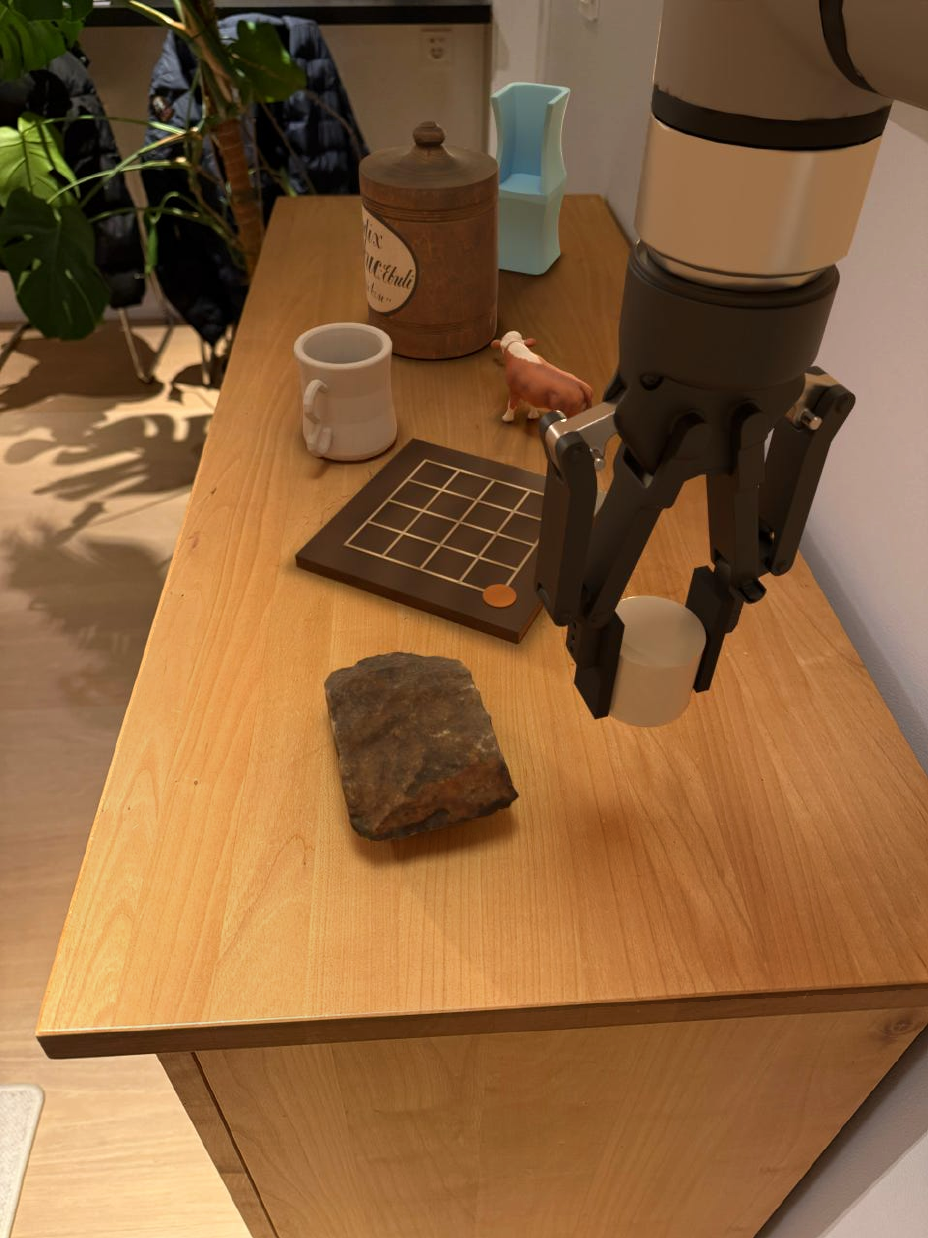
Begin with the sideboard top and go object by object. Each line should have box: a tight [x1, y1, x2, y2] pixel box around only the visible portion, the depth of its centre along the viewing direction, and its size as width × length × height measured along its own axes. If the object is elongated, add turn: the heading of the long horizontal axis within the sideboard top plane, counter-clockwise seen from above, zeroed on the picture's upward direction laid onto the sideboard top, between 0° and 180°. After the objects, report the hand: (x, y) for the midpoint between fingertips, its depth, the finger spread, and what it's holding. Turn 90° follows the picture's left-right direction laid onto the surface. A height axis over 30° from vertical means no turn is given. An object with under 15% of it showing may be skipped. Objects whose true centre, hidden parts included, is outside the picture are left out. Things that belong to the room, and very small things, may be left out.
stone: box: [323, 651, 520, 843], centre depth 58 cm, size 10×14×6 cm
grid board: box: [294, 437, 607, 644], centre depth 78 cm, size 20×20×1 cm
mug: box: [293, 322, 398, 462], centre depth 85 cm, size 12×9×10 cm
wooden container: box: [358, 120, 499, 360], centre depth 99 cm, size 15×15×22 cm
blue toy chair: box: [489, 81, 571, 276], centre depth 115 cm, size 8×8×20 cm
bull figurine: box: [490, 330, 594, 423], centre depth 88 cm, size 4×13×8 cm, turn 36°
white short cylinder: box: [608, 595, 706, 728], centre depth 47 cm, size 5×5×4 cm
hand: (641, 685), depth 49 cm, fingers closed on white short cylinder, 5 cm apart
